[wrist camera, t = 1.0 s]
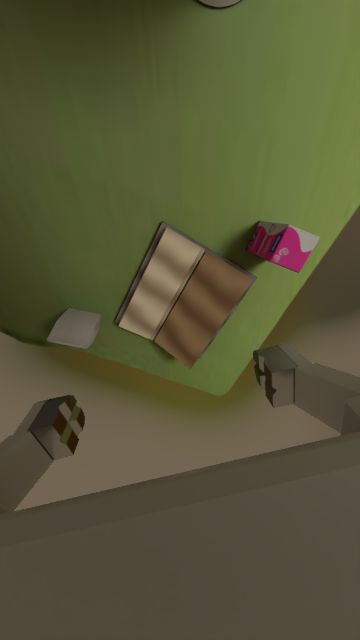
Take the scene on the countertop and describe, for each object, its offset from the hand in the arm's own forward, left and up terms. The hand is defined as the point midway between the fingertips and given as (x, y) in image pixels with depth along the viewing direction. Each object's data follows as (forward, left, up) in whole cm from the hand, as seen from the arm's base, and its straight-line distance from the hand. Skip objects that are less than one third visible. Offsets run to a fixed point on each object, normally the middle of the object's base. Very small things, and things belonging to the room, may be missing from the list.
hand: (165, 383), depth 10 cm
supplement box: (-11, +17, -37) cm, 42 cm away
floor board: (+7, +9, -36) cm, 38 cm away
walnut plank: (+7, +12, -33) cm, 35 cm away
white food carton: (+21, -8, -37) cm, 43 cm away
